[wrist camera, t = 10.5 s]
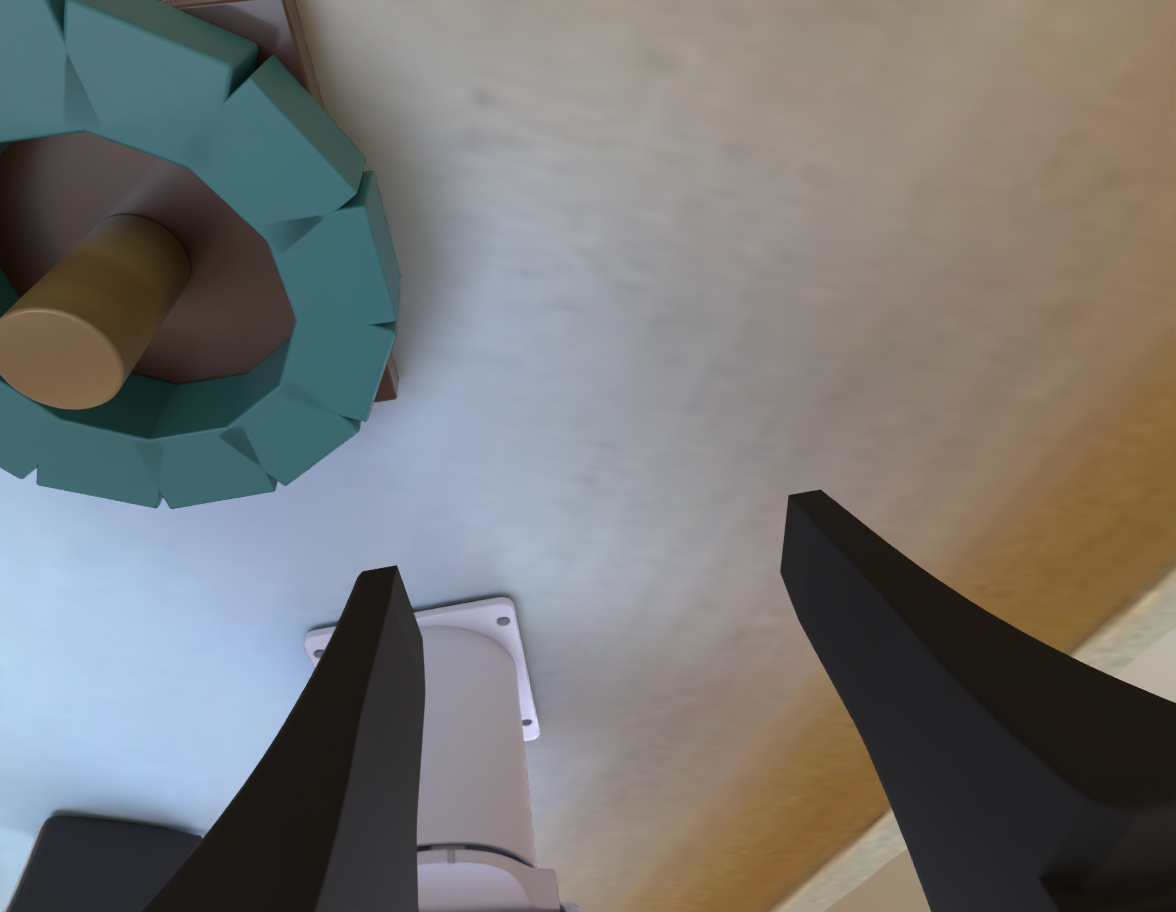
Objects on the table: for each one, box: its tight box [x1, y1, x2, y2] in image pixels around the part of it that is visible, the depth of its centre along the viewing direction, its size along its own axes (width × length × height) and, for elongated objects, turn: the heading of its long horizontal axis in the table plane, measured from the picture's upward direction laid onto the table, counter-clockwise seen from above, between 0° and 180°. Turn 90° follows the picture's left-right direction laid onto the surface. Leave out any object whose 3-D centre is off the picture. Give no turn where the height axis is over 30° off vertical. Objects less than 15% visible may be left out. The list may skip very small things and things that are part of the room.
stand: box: [0, 0, 398, 409], centre depth 16 cm, size 10×10×6 cm
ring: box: [0, 0, 401, 509], centre depth 17 cm, size 11×11×3 cm
